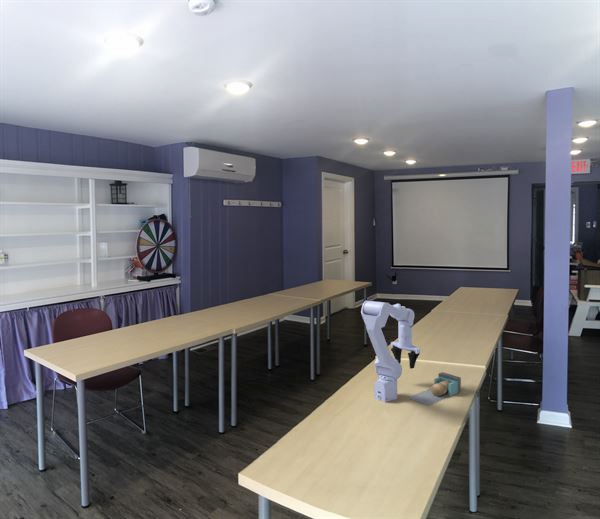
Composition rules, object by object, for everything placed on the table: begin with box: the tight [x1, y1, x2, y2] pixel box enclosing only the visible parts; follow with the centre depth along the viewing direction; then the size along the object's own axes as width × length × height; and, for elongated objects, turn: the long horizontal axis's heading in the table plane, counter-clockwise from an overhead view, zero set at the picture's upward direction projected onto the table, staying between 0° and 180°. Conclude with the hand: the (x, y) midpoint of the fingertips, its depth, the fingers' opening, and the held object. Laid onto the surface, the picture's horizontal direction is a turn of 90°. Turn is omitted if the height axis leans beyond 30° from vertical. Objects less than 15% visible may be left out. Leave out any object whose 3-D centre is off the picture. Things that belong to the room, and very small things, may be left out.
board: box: [408, 388, 450, 406], centre depth 188 cm, size 20×10×1 cm, turn 127°
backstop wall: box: [437, 371, 462, 393], centre depth 195 cm, size 3×9×6 cm, turn 37°
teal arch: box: [433, 376, 459, 397], centre depth 192 cm, size 5×8×5 cm, turn 37°
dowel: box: [430, 380, 450, 397], centre depth 190 cm, size 8×5×5 cm, turn 127°
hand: (405, 365), depth 198 cm, fingers open, 7 cm apart
